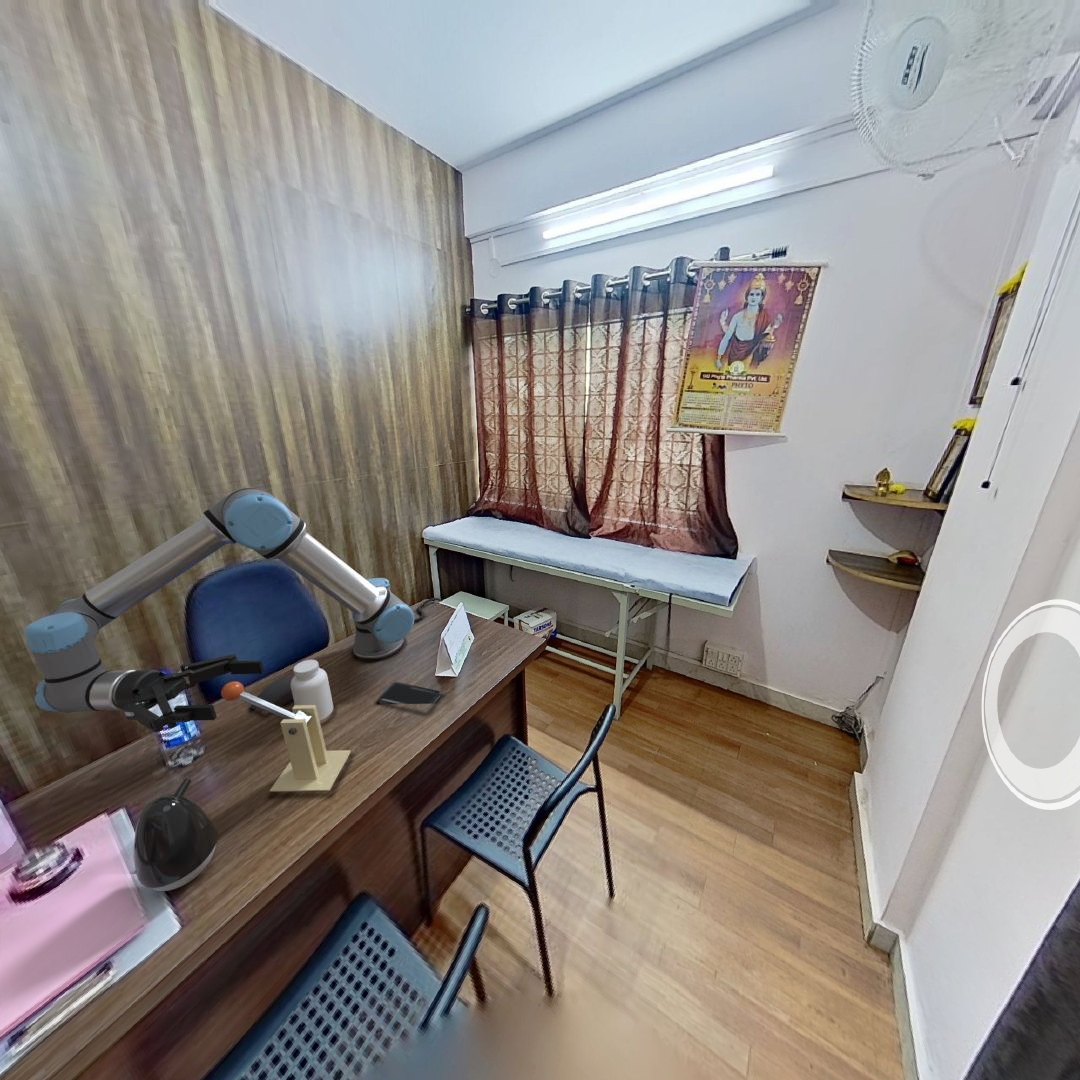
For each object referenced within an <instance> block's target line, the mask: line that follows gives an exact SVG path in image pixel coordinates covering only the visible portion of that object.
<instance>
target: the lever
mask: <svg viewBox="0 0 1080 1080" xmlns="http://www.w3.org/2000/svg"><path fill="white" fill-rule="evenodd" d="M220 696H221V697H222V699H224V700H225V701H228V702H232V701H237V700H238V699H240V700H241V701H244V702H246V703H247V704H251V705H252V704H253V705H255V706H257V707H260V708H262V709H264V710H266V711H265V712H269V713H271V714H274V715H275V716H278V717H280V718H281V719H305V720H306V724H308V722H309V721H310V719H311V717H312V716H311V715H309V714H306V713H304V712H302V711H300V710H299V711H298V712H297V713H296V714H294V713H293V712H291V711H289V710H287V709H285V708H283V707H281V706H276V705H273V704H271V703H269V702H267V701H265V700H262V699H260V698H258V696H256V695H254V694H251V693H249V692H247V691H245V687H244V685H243V683H241V682H240V681H237V680H235V681H234V680H233V681H229V682H226V683H225V684H224V686H223V687H222V688H221V691H220ZM264 710H263V711H264Z"/></svg>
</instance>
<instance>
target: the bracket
mask: <svg viewBox="0 0 1080 1080" xmlns="http://www.w3.org/2000/svg"><path fill="white" fill-rule="evenodd" d="M291 710H292V713H294V714H296V713H297V712H298V711H299V710H300V711H302V712H304V713H306V714H309V715H311V716H312V717H311V719H310V721H309V722H308V724H306V720H305V719H284V718H282V720H281V721H280V728H281V731H282V736H283V738H284V742H285V746H286V750H287V753H288V758H289V762H288V764H287V765H286V767H285V768H284V769H283V771H282V772H281V774H280V775H279V776H278V778H277V779H276V781H275V782H274V784H273V785H272V786H271V788H269V792H270V793H271V792H272V793H274V792H275V793H277V792H278V793H279V792H280V793H281V792H330V790H331V789H332V786H334V783H335V782H336V780H337V778H338V776H339V774H340V772H341V771H342V769H343V767H344V765H345V764H346V761H347V760H348V758H349V756H350V755H351V753H352V750H351V749H347V750H345V749H344V750H327V748H326V743H325V738H324V734H323V730H322V726H321V721H319V716H318V712H317V708H316V705H295V704H294V706H293V707H292V708H291Z"/></svg>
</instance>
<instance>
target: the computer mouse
mask: <svg viewBox="0 0 1080 1080" xmlns="http://www.w3.org/2000/svg"><path fill="white" fill-rule="evenodd" d="M294 676H295V675H294V674H287V675H284V676H281V677H279V678H277V679H275V680H274V681H272V682H271V683H269V684H268V685H267V686H266V687H264V688H263V689H262V690H261V692H260V693H259V694H258V695H257V697H258V698H260V699H262V700H265V701H267V702H269V703H271V704H273V705H276V706H278V707H282V706H284V705H287V704H288V703H289V702H291V701H292V700H294V699H293V694H292V690H291V681H292V679H293V677H294ZM250 709H252V710H253V711H256V709H259V710H260V711H264V712H267V711H266V710H264V709H262V708H260V707H257V706H255V705H253V704H251V705H250Z"/></svg>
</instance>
